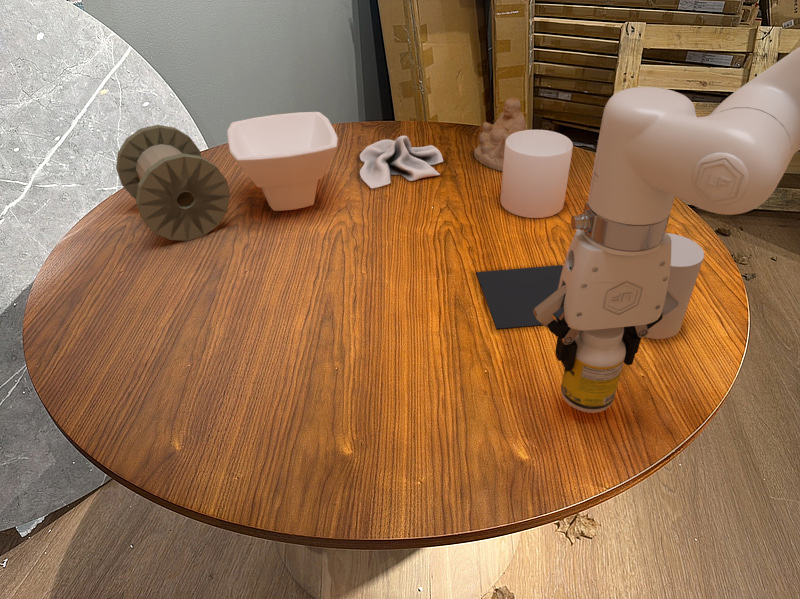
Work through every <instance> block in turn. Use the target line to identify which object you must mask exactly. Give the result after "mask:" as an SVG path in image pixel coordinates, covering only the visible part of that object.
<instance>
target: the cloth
mask: <svg viewBox="0 0 800 599" xmlns="http://www.w3.org/2000/svg"><path fill="white" fill-rule="evenodd" d="M443 158H444V157H443V154H442V153H441V151H440V150H439V149H438V148H437V147H436V146H435V145H432V144H429V145H425V146H413V145H412V143H411V140H410V138H409V136H407V135H400V136H398V137H397V138H396V139H395V140H393V139H388V138H386V139H385V138H384V139H381V140H378V141H376V142H374V143H371V144H369V145H367V146H366V147H364V148H363V150H362V151H361V152H360V153H359V159H360V161H361V162H362V163H363V165H362V167H361V168H360V169H359V176H360V178H361V180H362V181H363V182H364V183H365V184H366V186H368V188H370V190H374V189H378V188H382V187H385V186H388V185H390V184H391V183H392V181H391V177H392V176H402V177H403V178H404V179H406V180H407V181H409V182H413V181H417V180H419V179H423V178H431V177H438V176H440V175H441V173H439V171H437V170H436V169H435V167H433V166H435V165H439V164H441V163H443V162H444V159H443Z"/></svg>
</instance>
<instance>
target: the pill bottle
mask: <svg viewBox="0 0 800 599" xmlns="http://www.w3.org/2000/svg"><path fill="white" fill-rule="evenodd" d="M623 333H624V327H619V328H608V329H597V330H585V331H580V333H579V334H578V335H577V337H576V338H575V341H576V343H577V351H576V356H575V361H574V366H573V370H571V371H566V370H565V368H564V367H563V368H564V369H563V373H562V379H561V385H560V392H561V397H562V398H563V400H564V402H565V403H566V404H567V405H569V406H570V407H571V408H574V410H577V411H579V412H583V413H590V414H596V413H601V412H604V411H606V410H607V409H609V408H610V407H611V406H612V404H613V403H614V400H615V398H616V394H617V389H618V385H619V382H620V377H621V374H622V370H623V366H624V364H625V363H624V359H625V354H626V347H625V344H624V342H623V340H622V337H623Z"/></svg>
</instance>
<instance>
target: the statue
mask: <svg viewBox="0 0 800 599" xmlns="http://www.w3.org/2000/svg"><path fill="white" fill-rule="evenodd" d="M521 107H522V103H521V101H520V100H519V99H518V98H516V97H509V98H507V99H506V100H505V101H504V103H503V108H502V110H503V111H502V113H500V115H499V117H498V118H497V119H496V121H495V122H494V123H493V124H492V123H491V122H487V121H484V122H483V123H482V132H481V133H479V138H478V139H479V144H478V146H476V147H475V148H474V150H473V157H474V159H475V160H476V161H477V162H479V163H480V164H482V165H483V166H485V167H487V168H490V169H493V170H495V171H499V172H503V162H504V150H505V141H506V139H507V138H508V137H509V136H510V135H511V134H513V133H516V132H519V131H524V130H527V126H526V118H525V115H524V114H523V113H522V112H521Z"/></svg>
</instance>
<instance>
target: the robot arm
mask: <svg viewBox="0 0 800 599" xmlns="http://www.w3.org/2000/svg"><path fill="white" fill-rule="evenodd" d="M595 151H596V152H595V157H594V163H593V169H592V175H591V179H590V187H589V191H588V192H589V193H588V198H587V203H586V202H585V203H584V207H583V208H584V209H583V212H582V213H579V214H576V215H575V214H574V215H572V216H571V218H570V226H571V229H572V230H576V231H575V234H574V235H573V238H572V240H571V242H570V244H569V247H568V250H567V253H566V256H565V259H564V262H563V264H562V266H563V269H562V273H561V277H560V282H559V286H558V290H557V291H555V292H554V293H553V294H552V295H550V296H549V297H548V298H547V299H545V300H544V301H543V302H542V303H540V304H539V305H538V306H537V307H535V308H534V310H533V312H534V315H535V317H536V319H537V320H538V321H539V322H540V323H542V324H543V325H542V326H544V327H546V328H547V329H548V330H549V332H550V333H551V334H553V335H554V336H556V337H557V339H556V344H555V357H556V360H557V361H558V362H561V364H562V366H563V368H565V370H566V371H571V370H573V366H574V361H575V356H576V351H577V343H576V341H575V338H576V337H577V335H578V334H579V333H580V331H585V330H597V329H608V328H619V327H624V333H623V337H622V340H623V342H624V344H625V347H626V354H625V359H624V363H623V364H624V365H626V366H632V365H633V364H634V360H635V357H636V354H637V353H638V352H639V348H640V345H641V340H642V338H646V337H645V336H646V335H647V334H648V329H650V328H651V327H652V326H654V325H655V324H656V323H658V322H659V321H660V320H661V319H662V318H663V315H666V314H667V313H669V312H670V311H671V310H673V309H674V308H676V307H677V306H678V304H679V302H678V301H677V300H676V298H675V297H674V296H673V295H672V294H671V293H670V292H669V291H668V290H667V288H668V282H669V276H670V268H671V237H670V236H669V235H668V234H667V233H668V232H666V231H667V227H668V224H669V219H670V217H671V212H672V208H673V205H674V200H675V198H677V199H679V200H680V201H683V202H685V203H687V204H688V205H692V206H694V207H696V208H698V209H700V210H703V211H706V212H709V213H714V214H717V215H726V216H727V215H728V216H729V215H730V216H732V215H740V214H744V213H748V212H751V211H752V210H755V209H757V208H758V207H760V206H761V205H762V204H764V203H765V202H766V201H767V200H768V199H769V198H770V197H771V196H772V194H774V192H775V191H776V189H777V187H778V185H779V183H780V181H781V180H782V179H783V176H784V174H785V172H786V170H787V168H788V166H789V164H790V163H791V161H792V159H793V157H794V155H795V154H796V153H798V152H799V151H800V46H799V47H797V48H796V49H794V50H793V51H791V52H789V53H788V54H786V55H785V56H784V57H782V58H781V59H780V60H777V62H775V63H774V64H773V65H771V66H769V67H768V68H767V69H765V70H764V71H762V72H760V73H759V74H758V75H756V76H755V77H753V78H752V79H750V80H749V81H748V82H746V83H745V84H744V85H742V86H741V87H739V88H738V89H737V90H735V91H734V92H733V93H731V94H730V95H729V96H727V97H726V98H725V99H724V100H723V101H721V103H719V105H718V106H716V107H715V108H714V109H713V111H712V112H711V113H710V114H708V115H704V116H697V113H696V107H695V105H694V103H693V101H692V100H690V98H688V97H687V96H686V95H685V94H683V93H680V92H677V91H675V90H671V89H668V88H664V87H657V86H656V87H655V86H637V87H629V88H625V89H621V90H619V91H617V92H616V93H613V95H611V97H610V98H609V99H608V100H607V102H606V104H605V106H604V108H603V113H602V117H601V123H600V128H599V135H598V140H597V146H596V150H595ZM561 307H564V312H563V313H562V315H561V316H560V318H557V317H556V316H555V315H553V314H554V313H555V312H556V311H558V310H559V309H560V308H561Z"/></svg>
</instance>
